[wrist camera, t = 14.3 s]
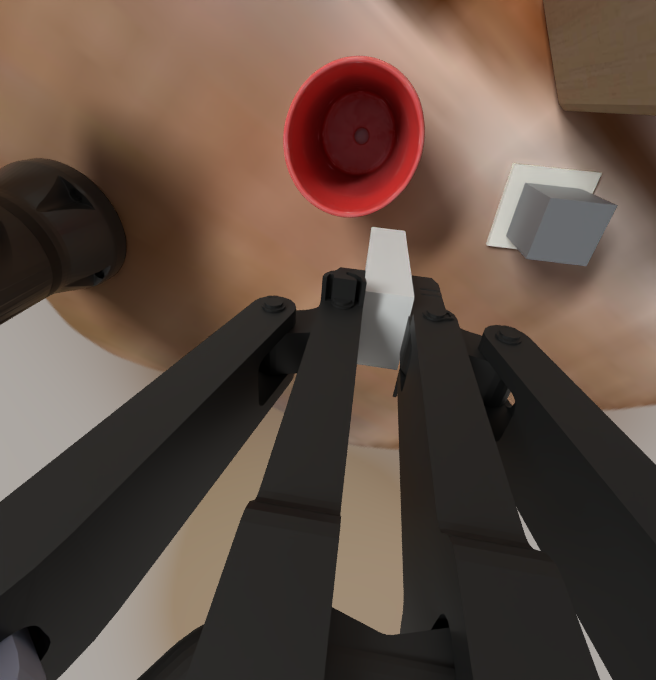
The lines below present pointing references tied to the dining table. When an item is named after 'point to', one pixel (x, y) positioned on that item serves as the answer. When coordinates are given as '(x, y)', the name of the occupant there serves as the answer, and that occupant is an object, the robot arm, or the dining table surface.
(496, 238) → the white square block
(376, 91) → the flower pot
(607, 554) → the robot arm
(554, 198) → the grey rectangular block
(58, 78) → the dining table surface
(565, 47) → the wooden block
